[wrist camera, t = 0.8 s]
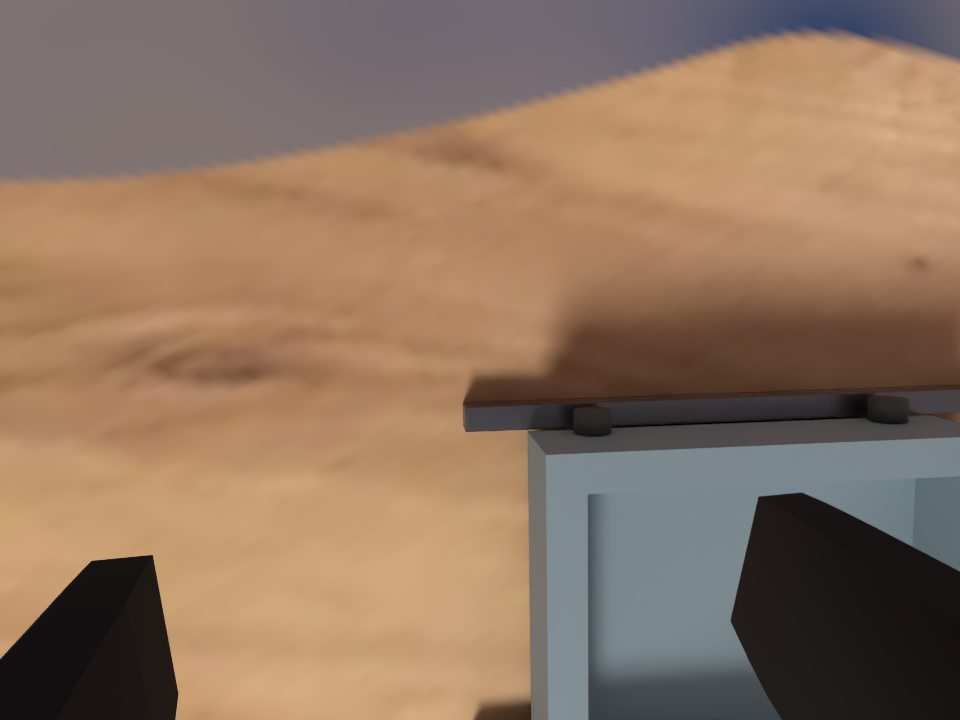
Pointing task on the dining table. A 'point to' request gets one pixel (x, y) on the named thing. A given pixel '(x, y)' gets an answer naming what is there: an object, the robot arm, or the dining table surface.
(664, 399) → the rail
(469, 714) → the dining table surface
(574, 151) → the dining table surface
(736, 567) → the cart
